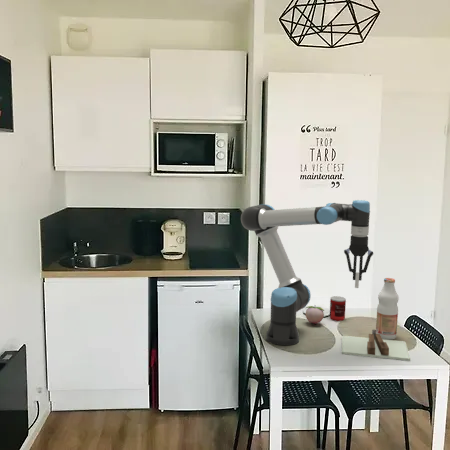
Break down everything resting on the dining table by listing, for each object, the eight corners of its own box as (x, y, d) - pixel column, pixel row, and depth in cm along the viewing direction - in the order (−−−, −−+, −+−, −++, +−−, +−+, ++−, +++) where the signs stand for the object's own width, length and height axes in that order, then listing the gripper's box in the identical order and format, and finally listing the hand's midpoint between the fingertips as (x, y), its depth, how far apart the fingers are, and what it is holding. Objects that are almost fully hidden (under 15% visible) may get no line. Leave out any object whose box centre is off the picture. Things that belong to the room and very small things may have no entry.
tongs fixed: (367, 354, 222) (368, 344, 221) (366, 337, 240) (366, 328, 240) (377, 355, 221) (378, 345, 220) (375, 338, 240) (375, 329, 239)
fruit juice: (371, 334, 247) (374, 277, 243) (385, 331, 252) (389, 275, 248) (385, 341, 239) (389, 282, 235) (400, 338, 244) (404, 280, 239)
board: (341, 353, 224) (342, 351, 224) (342, 337, 243) (342, 335, 243) (410, 360, 218) (410, 358, 218) (405, 343, 237) (405, 341, 237)
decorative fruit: (304, 326, 258) (305, 307, 256) (304, 321, 266) (305, 302, 264) (324, 327, 256) (324, 308, 255) (323, 322, 264) (324, 303, 263)
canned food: (334, 315, 275) (335, 295, 274) (347, 318, 270) (348, 298, 268) (326, 318, 270) (327, 298, 268) (339, 322, 264) (340, 301, 263)
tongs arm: (381, 354, 221) (381, 347, 220) (374, 340, 237) (375, 333, 237) (388, 355, 220) (389, 348, 220) (381, 340, 237) (382, 334, 236)
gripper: (344, 236, 227) (341, 288, 230) (375, 237, 224) (372, 290, 227) (344, 233, 234) (341, 284, 237) (374, 234, 231) (371, 286, 234)
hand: (356, 287), depth 232 cm, fingers closed
